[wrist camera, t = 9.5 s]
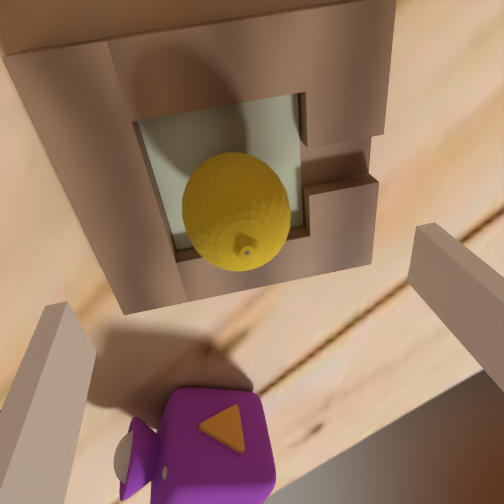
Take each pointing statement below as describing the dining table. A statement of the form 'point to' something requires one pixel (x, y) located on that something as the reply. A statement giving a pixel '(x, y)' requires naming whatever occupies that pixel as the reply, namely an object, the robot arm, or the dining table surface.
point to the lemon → (236, 211)
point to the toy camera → (200, 451)
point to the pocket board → (216, 138)
